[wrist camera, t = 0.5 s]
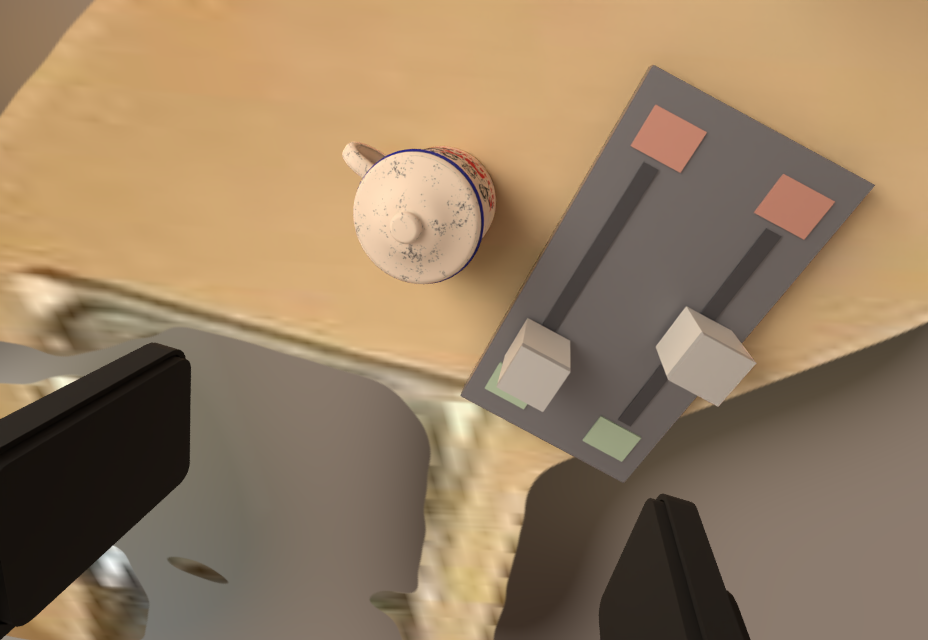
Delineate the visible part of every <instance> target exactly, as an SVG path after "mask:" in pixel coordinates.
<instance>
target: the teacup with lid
mask: <svg viewBox="0 0 928 640" xmlns="http://www.w3.org/2000/svg"><path fill="white" fill-rule="evenodd" d="M343 158H344V160H345V162H346V163H347V165H348V166H349V167H350V168H351V169H352V170H353V171H354V172H355V173H356V174H358V175H359V176H360V177H361V178H363V179H362V181H361V183H360V185H359V187H358V190H357V193H356V196H355V201H354V209H353V216H354V225H355V230H356V234H357V237H358V239H359V242H360V244H361V246H362V248H363V249H364V251H365V253H366V254H367V256H368V257H369V258H370V259H371V260H372V262H373V263H374V264H375V265H376V266H377V267H379V268H380V269H381V270H382V271H384V272H385V273H387V274H388V275H390V276H392V277H394V278H396V279H399V280H401V281H405V282H408V283H414V284H431V283H437V282H441V281H444V280H446V279H449V278H451V277H453V276H454V275H456V274H457V273H459V272H460V271H461V270H463V269H464V268H465V267H466V266H467V265H468V264H469V262H470V261H471V260H472V258H473V257H474V255H475V254H476V252H477V250H478V248H479V245H480V243H481V240H482V238H483V237H484V235H485V234H486V232H487V231H488V229H489V228H490V226H491V223H492V221H493V218H494V214H495V209H496V195H495V189H494V185H493V183H492V180H491V178H490V176H489V174H488V172H487V171H486V169H485V168H484V167H483V165H482V164H481V163H480V162H479V161H478V160H477V159H476V158H474V157H473V156H472V155H470V154H468V153H467V152H465V151H462V150H460V149H457V148H453V147H446V146H439V147H432V148H428V149H423V150H422V149H407V150H401V151H397V152H394V153H392V154H389V155H387V156H386V155H385V154H384V153H382V152H380V151H379V150H377V149H375V148H373V147H371V146H369V145H366V144H364V143H360V142H350V143H348V144H347V146H346V147H345V149H344V151H343Z"/></svg>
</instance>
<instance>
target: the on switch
mask: <svg viewBox="0 0 928 640" xmlns="http://www.w3.org/2000/svg"><path fill="white" fill-rule="evenodd" d="M569 374H570V340H568V339H566V338H564V337H562V336H560V335H559V334H557V333H555V332H553V331H551V330H549V329H547V328H546V327H544V326H542V325H540V324H538V323H536V322H534V321H532V320H531V319H529V318H527V320H526V321H525V323H524V325H523V326H522V328H521V330H520V331H519V333H518V334H517V336H516V338H515V339H514V341H513V343H512V344H511V346H510V348H509V349H508V351H507V353H506V354H505V357H504V361H503V364H502V368H501V372H500V376H499V379H498V383H497V388H499V389H501V390H502V391H504V392H506V393H508V394H510V395H512V396H514V397H516V398H517V399H519V400H521V401H523V402H525V403H527V404H529V405H531V406H532V407H534V408H536V409H538V410H540V411H542V412H543V411H544V410H545V409H546V407H547V406H548V404H549V403H550V401H551V400H552V398H553V397H554V395H555V394H556V392H557V391H558V390H559V388H560V387H561V385H562V384H563V382H564V381H565V379H566V378H567V376H568V375H569Z"/></svg>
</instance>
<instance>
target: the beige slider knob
mask: <svg viewBox="0 0 928 640" xmlns="http://www.w3.org/2000/svg"><path fill="white" fill-rule="evenodd" d="M656 349H657V352H658V355H659V357H660V360H661V363H662V365H663V368H664V370H665V373H666V376H667V378H668V380H669V381H671V382H673V383H675V384H677V385H678V386H680V387H682V388H684V389H686V390H688V391H690V392H691V393H693V394H695V395H697V396H699V397H701V398H703V399H705V400H706V401H708V402H710V403H712V404H714V405H716V406H719V405H720V404H721V403H722V402H723V401H724V400H725V398H726V397H727V396H728V395H729V394H730V393H731V392H732V390H733V389H734V388H735V387H736V386H737V385H738V384H739V383H740V381H741V380H742V379H743V378H744V377H745V376H746V375H747V373H748V372H749V371H750V370H751V369H752V368H753V367H754V365H755V364H756V362H755V360H754V359H753V358H752V357H751V355H750V354H749V353H748V351H747V350H746V349H745V347H744V346H743V345H742V343H741V342H740V341H739V339H738V338H737V337H736V336H735V334H734V333H733V332H732V331H731V330H730V329H728V328H726V327H724V326H722V325H720V324H718V323H717V322H715V321H713V320H711V319H709V318H707V317H705V316H704V315H702V314H700V313H698V312H696V311H694V310H692V309H691V308H689V307H687V306H686V307H685V308H684V310H683V311H682V312H681V314H680V315H679V316H678V318H677V319H676V320H675V322H674V323H673V324H672V326H671V327H670V328H669V330H668V331H667V332H666V334H665V335H664V336H663V338H662V339H661V340H660V341H659V343H658V344H657V345H656Z"/></svg>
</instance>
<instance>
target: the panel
mask: <svg viewBox="0 0 928 640" xmlns="http://www.w3.org/2000/svg"><path fill="white" fill-rule="evenodd" d="M874 186H875V185H874V184H872V183H870V182H868V181H867V180H865V179H863V178H861V177H859V176H857V175H856V174H854V173H852V172H850V171H848V170H846V169H844V168H843V167H841V166H839V165H837V164H835V163H833V162H832V161H830V160H828V159H826V158H824V157H822V156H820V155H819V154H817V153H815V152H813V151H811V150H809V149H808V148H806V147H804V146H802V145H800V144H798V143H797V142H795V141H793V140H791V139H789V138H787V137H785V136H784V135H782V134H780V133H778V132H776V131H774V130H773V129H771V128H769V127H767V126H765V125H763V124H761V123H760V122H758V121H756V120H754V119H752V118H750V117H749V116H747V115H745V114H743V113H741V112H739V111H738V110H736V109H734V108H732V107H730V106H728V105H726V104H725V103H723V102H721V101H719V100H717V99H715V98H714V97H712V96H710V95H708V94H706V93H704V92H702V91H701V90H699V89H697V88H695V87H693V86H691V85H690V84H688V83H686V82H684V81H682V80H680V79H679V78H677V77H675V76H673V75H671V74H669V73H667V72H666V71H664V70H662V69H660V68H658V67H656V66H655V65H652V66H650V67H649V68H648V70H647V71H646V73H645V75H644V77H643V78H642V80H641V82H640V84H639V85H638V87H637V89H636V90H635V92H634V94H633V96H632V97H631V99H630V101H629V103H628V104H627V106H626V108H625V109H624V111H623V113H622V115H621V116H620V118H619V120H618V122H617V123H616V125H615V127H614V128H613V130H612V132H611V134H610V135H609V137H608V139H607V140H606V142H605V144H604V146H603V147H602V149H601V151H600V153H599V154H598V156H597V158H596V159H595V161H594V163H593V165H592V166H591V168H590V170H589V172H588V173H587V175H586V177H585V178H584V180H583V182H582V184H581V185H580V187H579V189H578V191H577V192H576V194H575V196H574V197H573V199H572V201H571V203H570V204H569V206H568V208H567V209H566V211H565V213H564V215H563V216H562V218H561V220H560V222H559V223H558V225H557V227H556V228H555V230H554V232H553V234H552V235H551V237H550V239H549V241H548V242H547V244H546V246H545V247H544V249H543V251H542V253H541V254H540V256H539V258H538V259H537V261H536V263H535V265H534V266H533V268H532V270H531V272H530V273H529V275H528V277H527V278H526V280H525V282H524V284H523V285H522V287H521V289H520V291H519V292H518V294H517V296H516V297H515V299H514V301H513V303H512V304H511V306H510V308H509V310H508V311H507V313H506V315H505V316H504V318H503V320H502V322H501V323H500V325H499V327H498V328H497V330H496V332H495V334H494V335H493V337H492V339H491V341H490V342H489V344H488V346H487V347H486V349H485V351H484V353H483V354H482V356H481V358H480V360H479V361H478V363H477V365H476V366H475V368H474V370H473V372H472V373H471V375H470V377H469V379H468V380H467V382H466V384H465V385H464V388H463V391H462V393H461V396H462V397H463V398H465V399H467V400H469V401H471V402H473V403H475V404H477V405H478V406H480V407H482V408H484V409H486V410H488V411H490V412H492V413H493V414H495V415H497V416H499V417H501V418H503V419H505V420H507V421H508V422H510V423H512V424H514V425H516V426H518V427H520V428H522V429H523V430H525V431H527V432H529V433H531V434H533V435H535V436H536V437H538V438H540V439H542V440H544V441H546V442H548V443H550V444H551V445H553V446H555V447H557V448H559V449H561V450H563V451H565V452H566V453H568V454H570V455H572V456H574V457H576V458H578V459H580V460H581V461H583V462H585V463H587V464H589V465H591V466H593V467H595V468H596V469H599V470H600V471H602V472H604V473H606V474H608V475H610V476H612V477H613V478H615V479H617V480H619V481H621V482H623V483H624V482H625V481H626V480H627V479H628V478H629V476H630V475H631V474H632V473H633V472H634V470H635V469H636V468H637V467H638V466H639V465H640V463H641V462H642V461H643V460H644V458H645V457H646V456H647V455H648V454H649V453H650V451H651V450H652V449H653V448H654V447H655V445H656V444H657V443H658V442H659V441H660V440H661V438H662V437H663V436H664V435H665V433H667V431H668V430H669V429H670V428H671V427H672V425H673V424H674V423H675V422H676V421H677V419H678V418H679V417H680V416H681V415H682V414H683V412H684V411H685V410H686V409H687V408H688V406H689V405H690V404H691V403H692V402H693V401H694V399H695V398H696V397H697V395H695V394H693V393H691V392H690V391H688V390H686V389H684V388H682V387H680V386H678V385H677V384H675V383H673V382H671V381H669V380H668V378H667V376H666V373H665V370H664V368H663V365H662V363H661V360H660V357H659V355H658V352H657V349H656V345H657V344H658V343H659V341H660V340H661V339H662V338H663V336H664V335H665V334H666V332H667V331H668V330H669V328H670V327H671V326H672V324H673V323H674V322H675V320H676V319H677V318H678V316H679V315H680V314H681V312H682V311H683V310H684V308H685V307H686V306H687V307H689V308H691V309H692V310H694V311H696V312H698V313H700V314H702V315H704V316H705V317H707V318H709V319H711V320H713V321H715V322H717V323H718V324H720V325H722V326H724V327H726V328H728V329H730V330H731V331H732V332H733V333H734V334H735V336H736V337H737V338H738V339H739V341H740V342H741V343H742V342H743V341H744V340H745V339H746V338H747V337H748V335H749V334H750V333H751V332H752V331H753V329H754V328H755V327H756V326H757V325H758V323H759V322H760V321H761V320H762V319H763V318H764V316H765V315H766V314H767V313H768V312H769V310H770V309H771V308H772V307H773V306H774V305H775V303H776V302H777V301H778V300H779V299H780V297H781V296H782V295H783V294H784V293H785V292H786V290H787V289H788V288H789V287H790V286H791V284H792V283H793V282H794V281H795V280H796V278H797V277H798V276H799V275H800V274H801V273H802V271H803V270H804V269H805V268H806V267H807V265H808V264H809V263H810V262H811V261H812V260H813V258H814V257H815V256H816V255H817V254H818V252H819V251H820V250H821V249H822V248H823V246H824V245H825V244H826V243H827V242H828V241H829V239H830V238H831V237H832V236H833V235H834V233H835V232H836V231H837V230H838V229H839V228H840V226H841V225H842V224H843V223H844V222H845V220H846V219H847V218H848V217H849V216H850V214H851V213H852V212H853V211H854V210H855V209H856V207H857V206H858V205H859V204H860V203H861V201H862V200H863V199H864V198H865V197H866V196H867V194H868V193H869V192H870V191H871V190H872V188H873V187H874ZM527 318H529V319H531V320H532V321H534V322H536V323H538V324H540V325H542V326H544V327H546V328H547V329H549V330H551V331H553V332H555V333H557V334H559V335H560V336H562V337H564V338H566V339H568V340H570V374H569V375H568V376H567V378H566V379H565V381H564V382H563V384H562V385H561V387H560V388H559V390H558V391H557V392H556V394H555V395H554V397H553V398H552V400H551V401H550V403H549V404H548V406H547V407H546V409H545V410H544V411H543V412H542V411H540V410H538V409H536V408H534V407H532V406H531V405H529V404H527V403H525V402H523V401H521V400H519V399H517V398H516V397H514V396H512V395H510V394H508V393H506V392H504V391H502V390H501V389H499V388H497V383H498V379H499V376H500V372H501V368H502V364H503V361H504V357H505V354H506V353H507V351H508V349H509V348H510V346H511V344H512V343H513V341H514V339H515V338H516V336H517V334H518V333H519V331H520V330H521V328H522V326H523V325H524V323H525V321H526V320H527Z"/></svg>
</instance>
